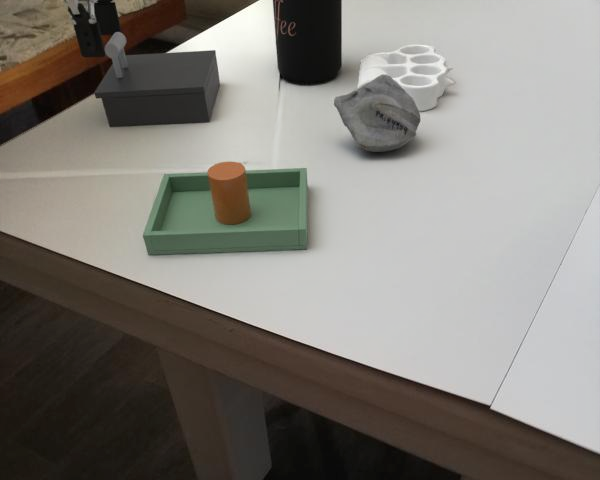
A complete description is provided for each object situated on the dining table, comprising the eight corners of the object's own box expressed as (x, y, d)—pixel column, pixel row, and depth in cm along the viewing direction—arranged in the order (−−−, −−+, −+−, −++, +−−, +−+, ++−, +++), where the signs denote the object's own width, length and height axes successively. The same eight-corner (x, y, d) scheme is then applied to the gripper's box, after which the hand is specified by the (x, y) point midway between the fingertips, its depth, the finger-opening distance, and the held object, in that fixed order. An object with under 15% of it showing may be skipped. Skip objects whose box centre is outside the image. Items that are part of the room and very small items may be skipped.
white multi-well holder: (361, 67, 99) (449, 66, 97) (355, 112, 87) (456, 111, 85) (361, 45, 97) (452, 43, 95) (356, 88, 85) (459, 86, 83)
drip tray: (148, 255, 65) (142, 235, 63) (168, 192, 74) (163, 173, 72) (306, 249, 64) (305, 229, 62) (307, 186, 73) (306, 167, 71)
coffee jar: (275, 65, 102) (265, -65, 88) (336, 59, 102) (336, -72, 89) (281, 89, 95) (271, -49, 81) (346, 82, 95) (347, -56, 82)
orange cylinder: (213, 225, 67) (205, 180, 63) (217, 206, 70) (209, 162, 66) (249, 224, 67) (243, 178, 63) (252, 205, 70) (246, 160, 66)
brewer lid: (95, 98, 83) (83, 56, 79) (118, 61, 93) (108, 22, 89) (204, 92, 82) (197, 50, 78) (216, 55, 92) (210, 16, 88)
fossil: (337, 163, 77) (337, 99, 71) (332, 133, 83) (331, 71, 77) (422, 156, 77) (429, 92, 71) (410, 127, 83) (415, 65, 77)
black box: (111, 133, 87) (101, 98, 83) (131, 93, 97) (123, 60, 93) (210, 128, 86) (204, 93, 82) (220, 89, 96) (216, 55, 92)
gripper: (55, -122, 77) (92, 27, 90) (9, -102, 66) (59, 66, 78) (111, -124, 77) (141, 26, 90) (75, -104, 65) (115, 65, 78)
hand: (102, 44), depth 84 cm, fingers open, 9 cm apart
